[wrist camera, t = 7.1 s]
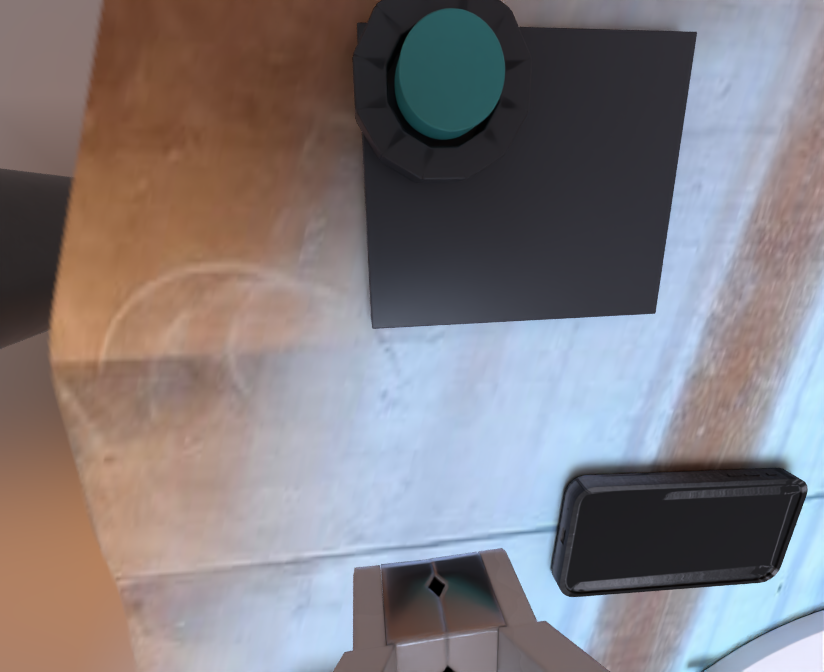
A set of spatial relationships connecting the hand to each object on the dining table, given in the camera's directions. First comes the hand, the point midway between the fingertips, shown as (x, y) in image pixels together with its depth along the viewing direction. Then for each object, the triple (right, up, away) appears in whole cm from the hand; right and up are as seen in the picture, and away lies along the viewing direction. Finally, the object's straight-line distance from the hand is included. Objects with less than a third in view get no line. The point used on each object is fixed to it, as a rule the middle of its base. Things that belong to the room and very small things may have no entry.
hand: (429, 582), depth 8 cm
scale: (+5, +12, +11) cm, 17 cm away
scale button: (+1, +14, +7) cm, 16 cm away
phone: (+16, -7, +18) cm, 25 cm away
